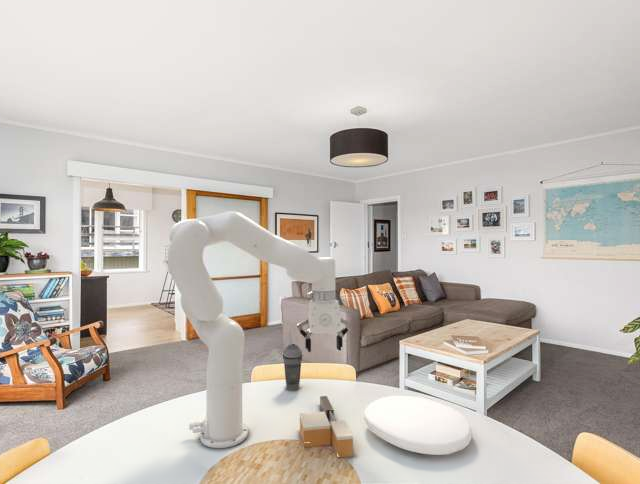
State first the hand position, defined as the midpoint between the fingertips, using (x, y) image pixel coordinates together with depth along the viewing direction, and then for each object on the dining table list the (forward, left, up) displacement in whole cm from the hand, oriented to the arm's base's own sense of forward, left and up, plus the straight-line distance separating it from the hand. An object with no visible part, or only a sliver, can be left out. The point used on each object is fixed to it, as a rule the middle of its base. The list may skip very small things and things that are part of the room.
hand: (323, 350), depth 117 cm
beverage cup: (-8, +18, -18) cm, 27 cm away
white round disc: (+22, -19, -18) cm, 34 cm away
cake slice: (0, -23, -18) cm, 29 cm away
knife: (0, -7, -18) cm, 20 cm away
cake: (-6, -17, -18) cm, 26 cm away
